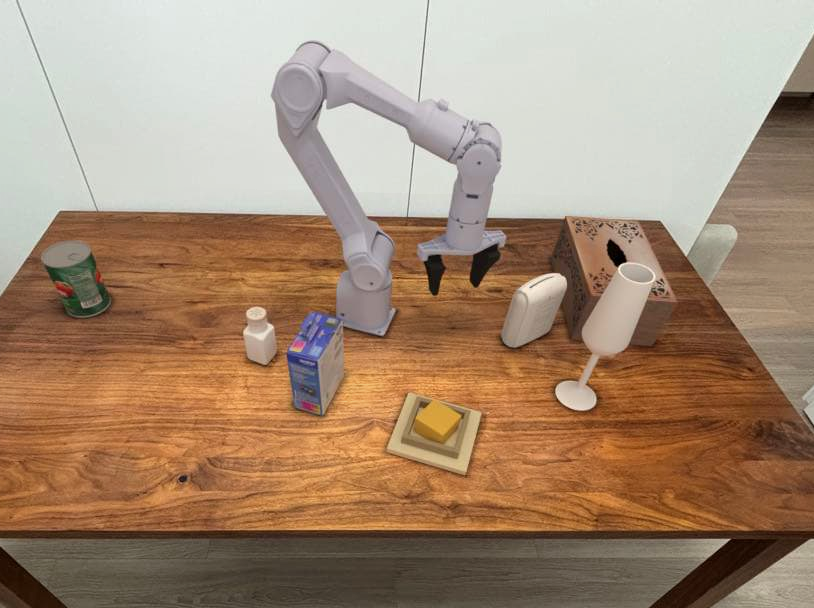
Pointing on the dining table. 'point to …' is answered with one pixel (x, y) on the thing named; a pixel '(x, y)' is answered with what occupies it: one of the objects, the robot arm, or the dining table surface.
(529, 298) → the photo printer
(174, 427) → the dining table surface
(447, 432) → the mustard block
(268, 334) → the pepper shaker
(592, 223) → the tissue box cover
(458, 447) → the base pad
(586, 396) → the champagne flute
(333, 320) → the ink cartridge box
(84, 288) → the canned tomato
